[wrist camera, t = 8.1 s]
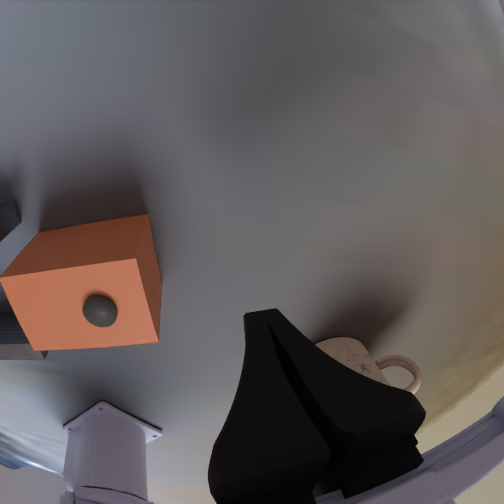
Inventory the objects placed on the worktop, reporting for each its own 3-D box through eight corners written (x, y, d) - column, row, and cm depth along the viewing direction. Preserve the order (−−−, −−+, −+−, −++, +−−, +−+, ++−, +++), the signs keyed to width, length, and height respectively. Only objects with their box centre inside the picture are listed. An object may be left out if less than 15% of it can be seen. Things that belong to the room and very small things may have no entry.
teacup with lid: (295, 407, 30) (331, 498, 20) (265, 362, 26) (307, 479, 16) (393, 357, 30) (447, 435, 20) (386, 301, 26) (463, 392, 16)
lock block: (60, 294, 19) (32, 354, 14) (38, 232, 17) (-4, 280, 12) (162, 282, 21) (158, 345, 15) (148, 213, 18) (134, 261, 13)
